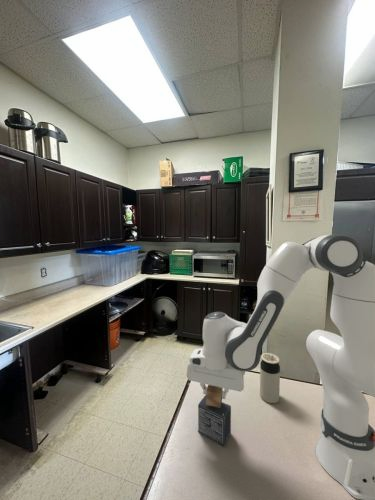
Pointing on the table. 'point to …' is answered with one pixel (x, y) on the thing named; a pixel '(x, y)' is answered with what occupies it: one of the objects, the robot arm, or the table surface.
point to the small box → (214, 421)
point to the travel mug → (269, 378)
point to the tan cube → (214, 396)
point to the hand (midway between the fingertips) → (214, 395)
